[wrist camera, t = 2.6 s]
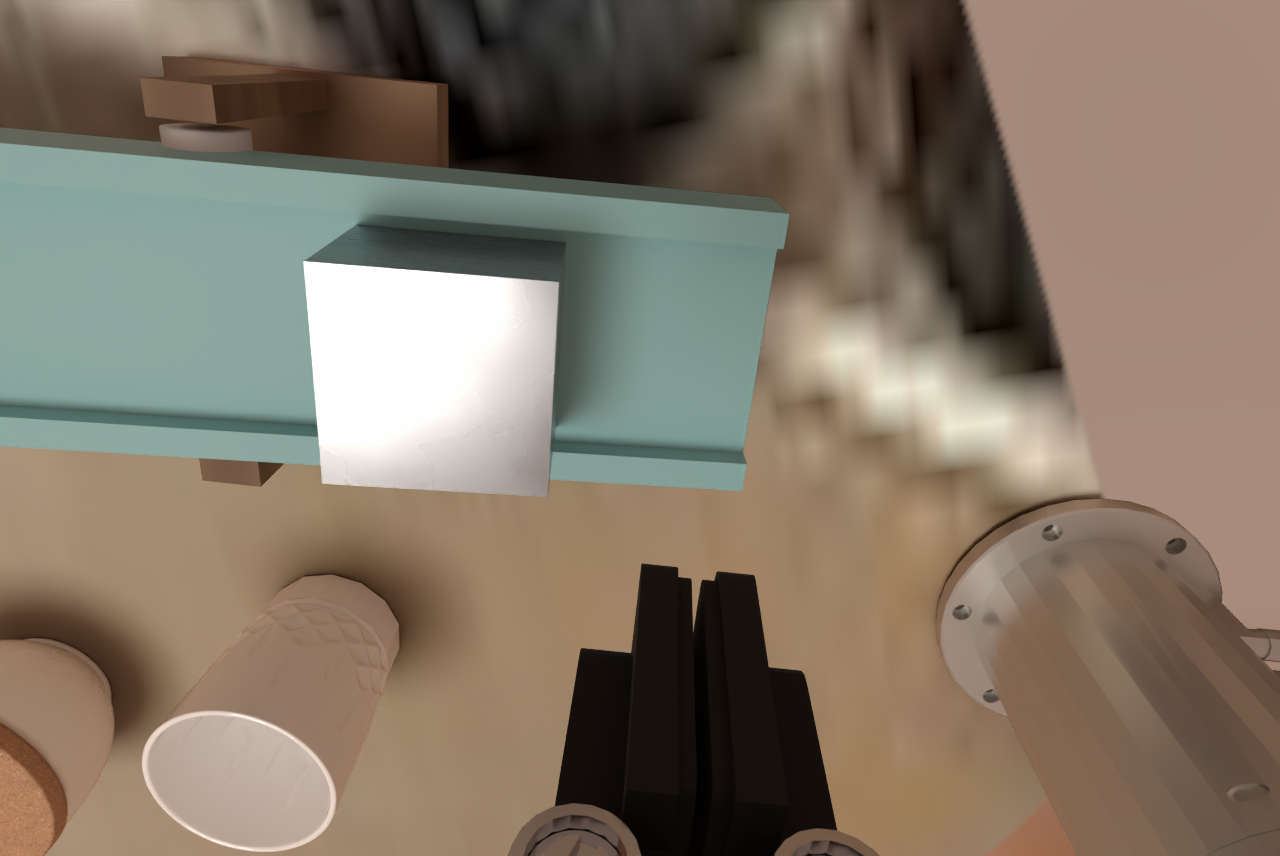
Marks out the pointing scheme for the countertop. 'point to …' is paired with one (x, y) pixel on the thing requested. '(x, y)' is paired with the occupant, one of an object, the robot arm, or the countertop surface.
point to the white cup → (277, 719)
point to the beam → (278, 315)
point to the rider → (436, 359)
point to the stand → (302, 134)
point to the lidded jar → (48, 739)
